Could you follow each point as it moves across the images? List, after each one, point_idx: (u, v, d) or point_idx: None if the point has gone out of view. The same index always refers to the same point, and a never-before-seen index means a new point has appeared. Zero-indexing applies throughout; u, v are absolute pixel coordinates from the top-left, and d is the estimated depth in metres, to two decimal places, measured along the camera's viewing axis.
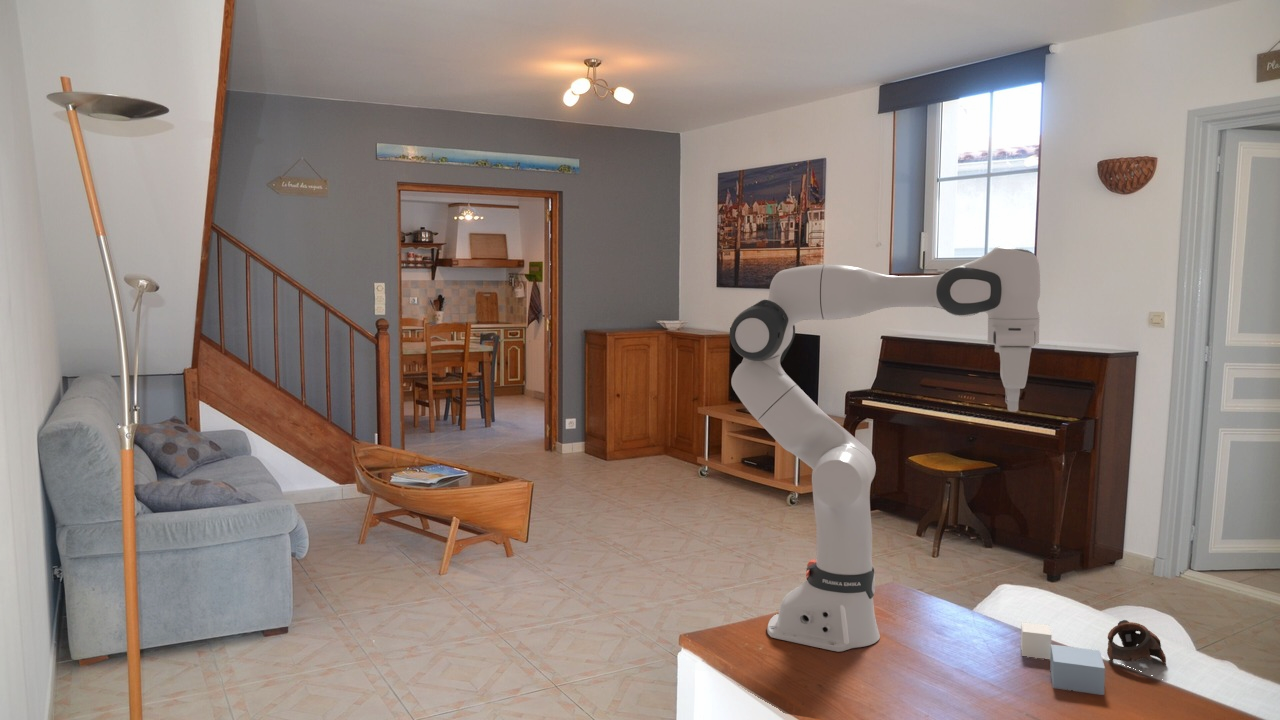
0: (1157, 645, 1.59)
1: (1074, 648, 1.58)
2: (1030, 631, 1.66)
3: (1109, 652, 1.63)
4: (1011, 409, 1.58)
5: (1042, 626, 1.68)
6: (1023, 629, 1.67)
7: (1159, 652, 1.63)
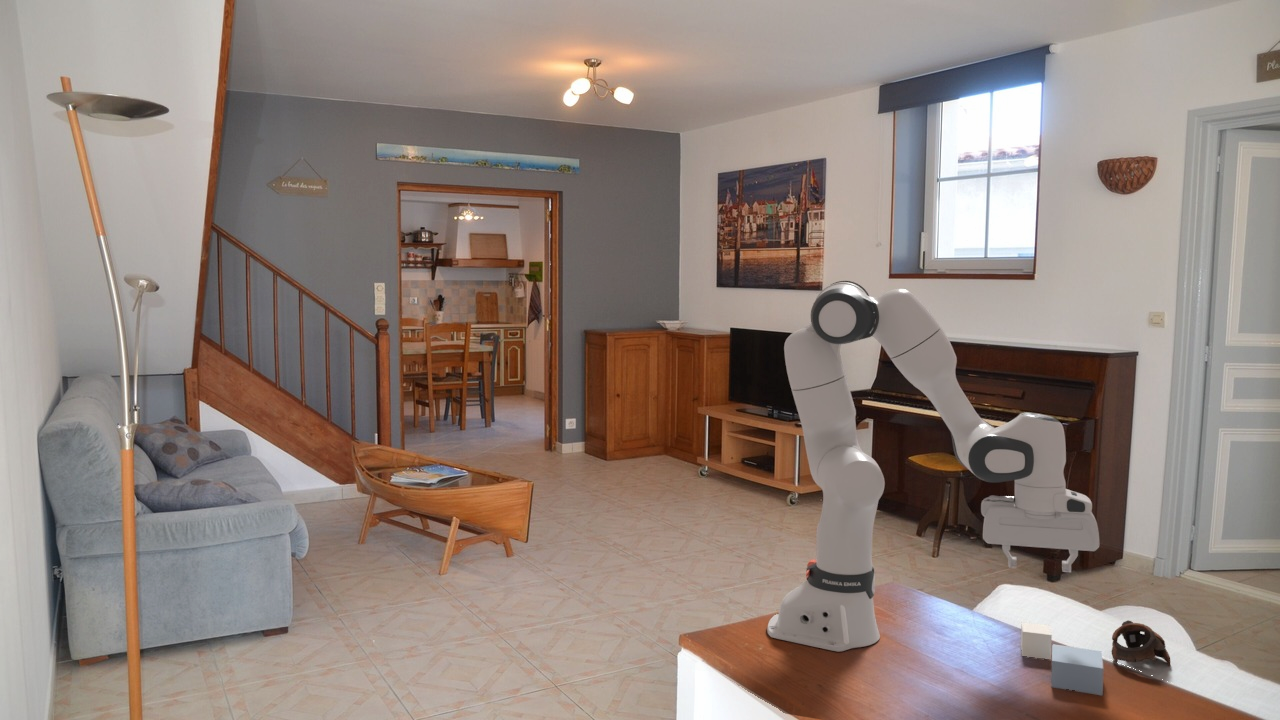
0: (1162, 646, 1.59)
1: (1075, 648, 1.58)
2: (1030, 631, 1.66)
3: (1113, 653, 1.63)
4: (1070, 570, 1.64)
5: (1042, 626, 1.68)
6: (1023, 629, 1.67)
7: (1163, 653, 1.63)
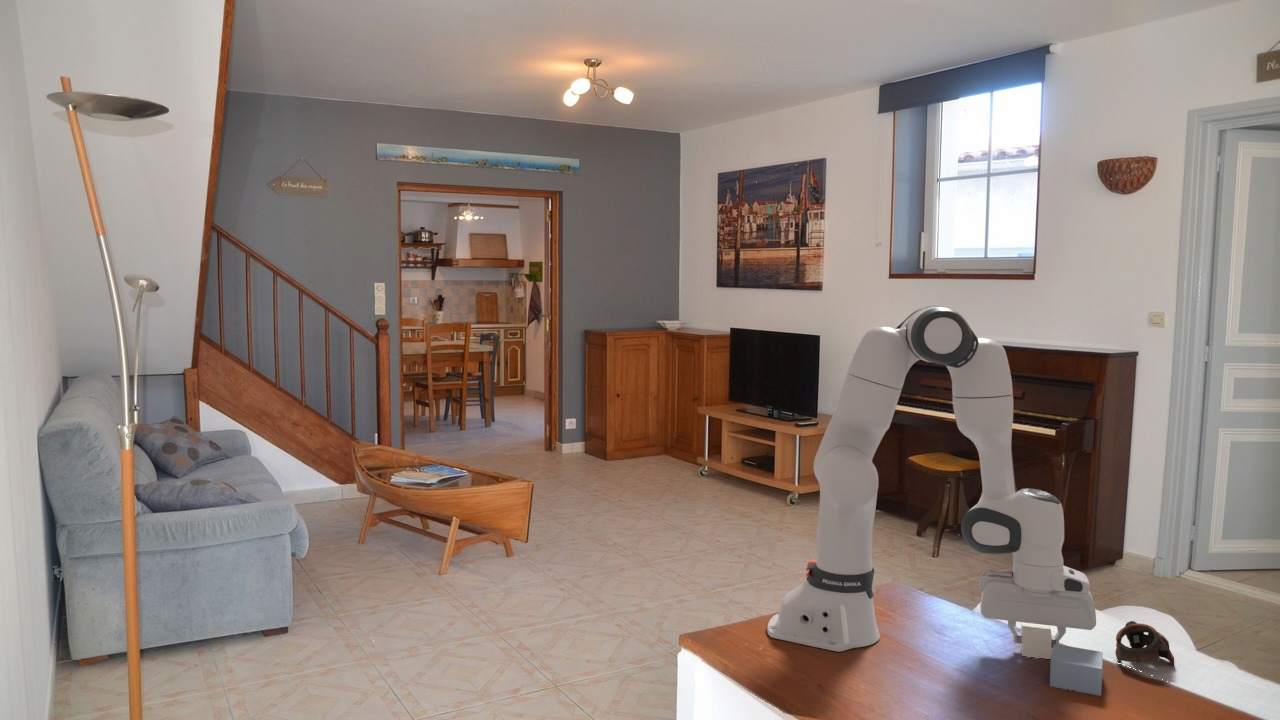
0: (1166, 646, 1.59)
1: (1077, 648, 1.58)
2: (1030, 630, 1.66)
3: (1117, 653, 1.63)
4: None
5: (1042, 625, 1.68)
6: (1023, 628, 1.67)
7: (1167, 653, 1.63)
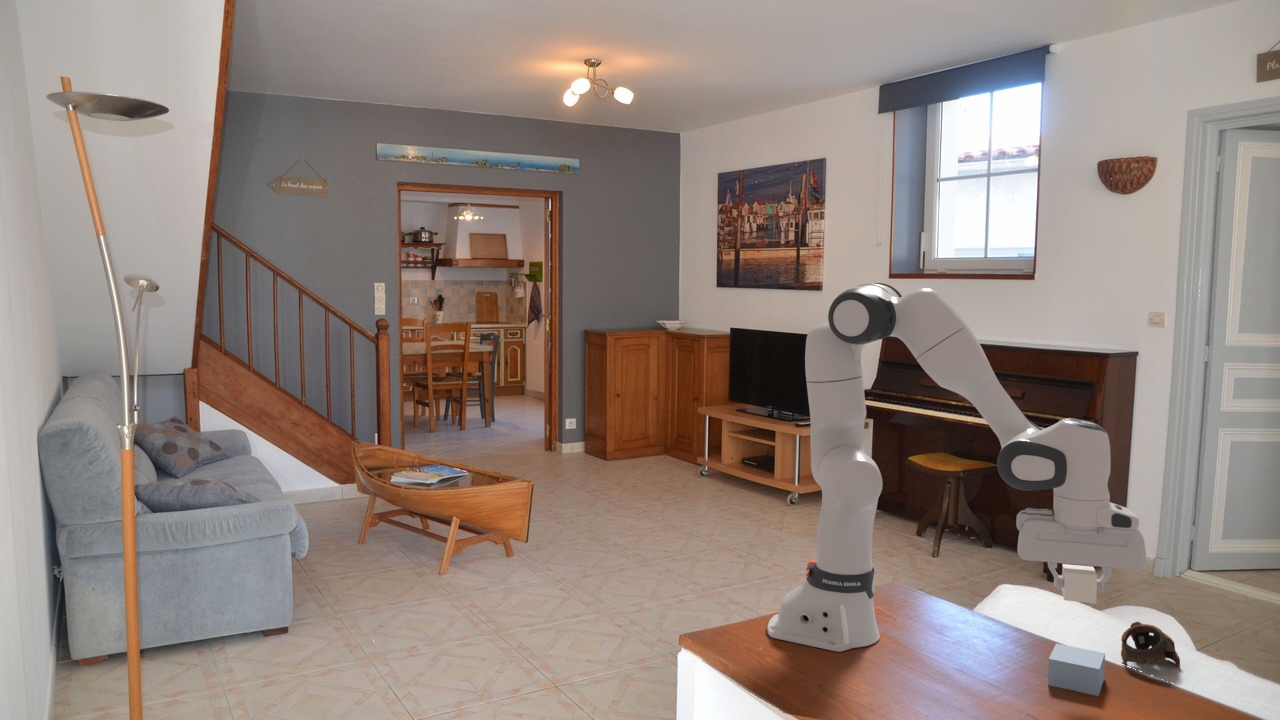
0: (1172, 647, 1.59)
1: (1078, 649, 1.58)
2: (1073, 571, 1.53)
3: (1123, 654, 1.62)
4: None
5: (1085, 567, 1.55)
6: (1065, 570, 1.54)
7: (1173, 654, 1.62)
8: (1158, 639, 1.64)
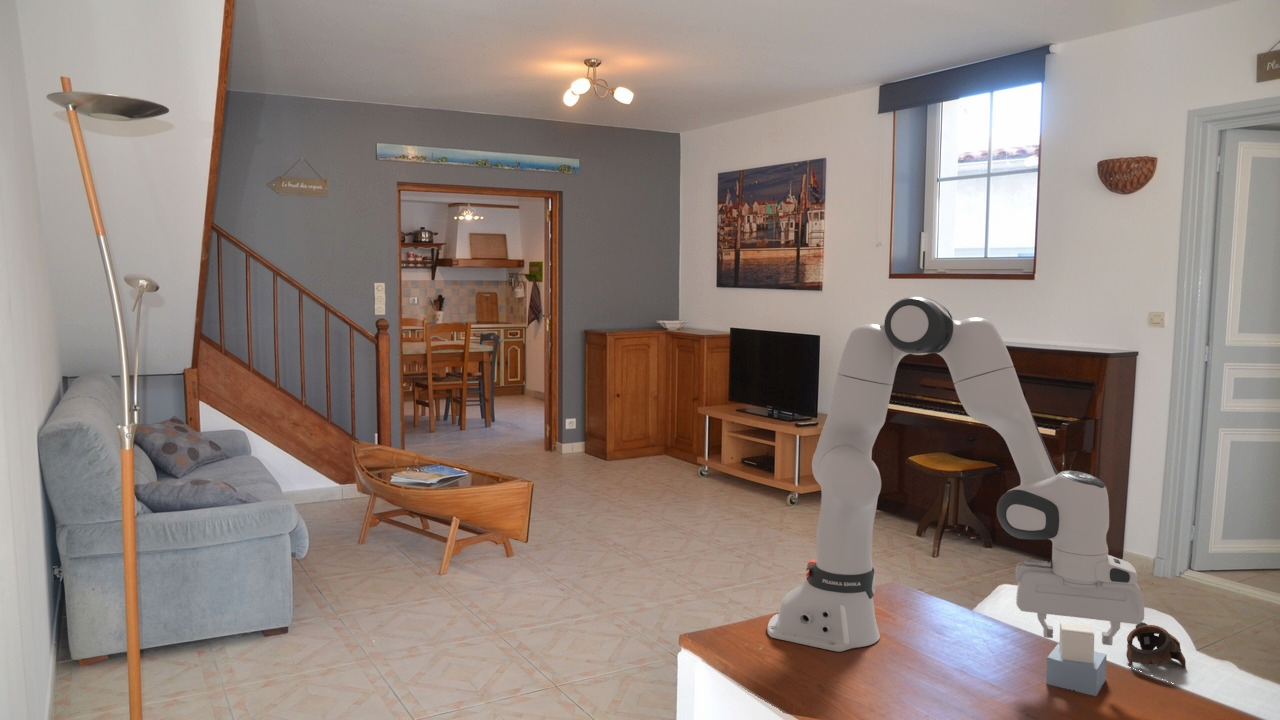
0: (1177, 648, 1.58)
1: None
2: (1071, 631, 1.54)
3: (1129, 655, 1.62)
4: (1111, 642, 1.53)
5: (1083, 626, 1.56)
6: (1063, 629, 1.54)
7: (1178, 655, 1.62)
8: (1163, 640, 1.64)
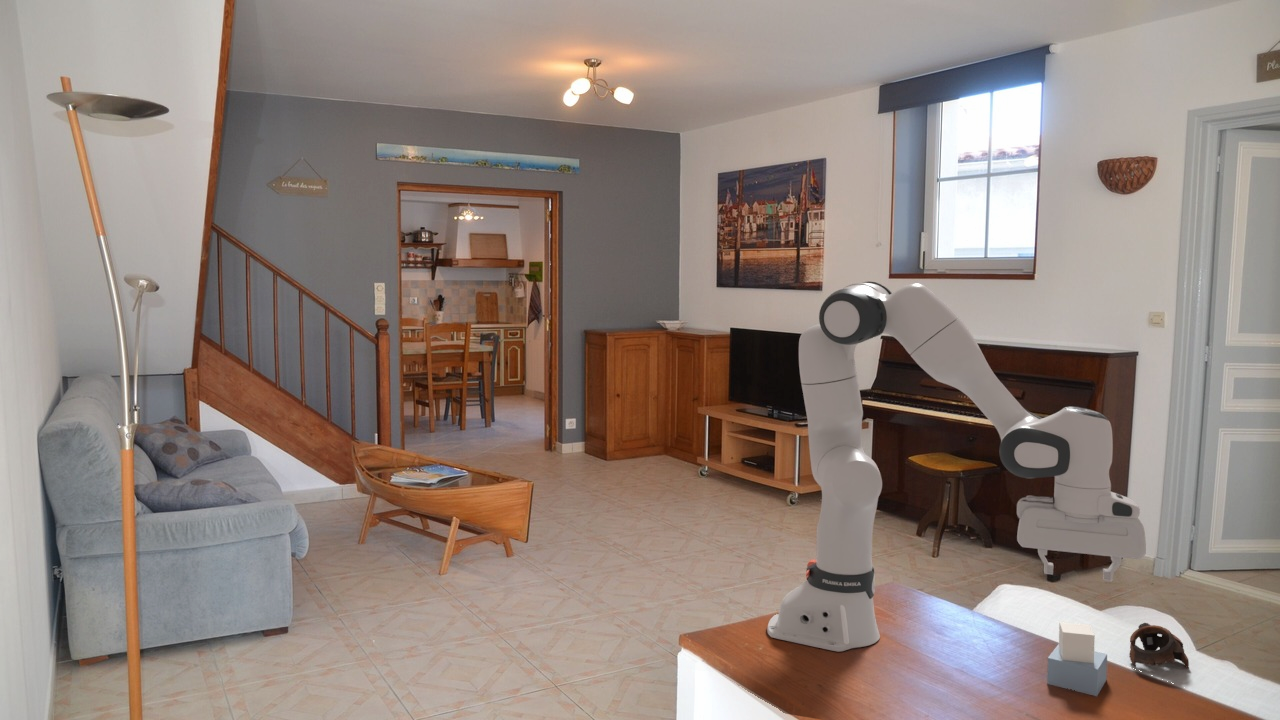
0: (1181, 648, 1.58)
1: None
2: (1071, 631, 1.53)
3: (1132, 656, 1.62)
4: (1112, 578, 1.52)
5: (1082, 626, 1.56)
6: (1063, 629, 1.54)
7: (1181, 655, 1.62)
8: (1166, 640, 1.64)
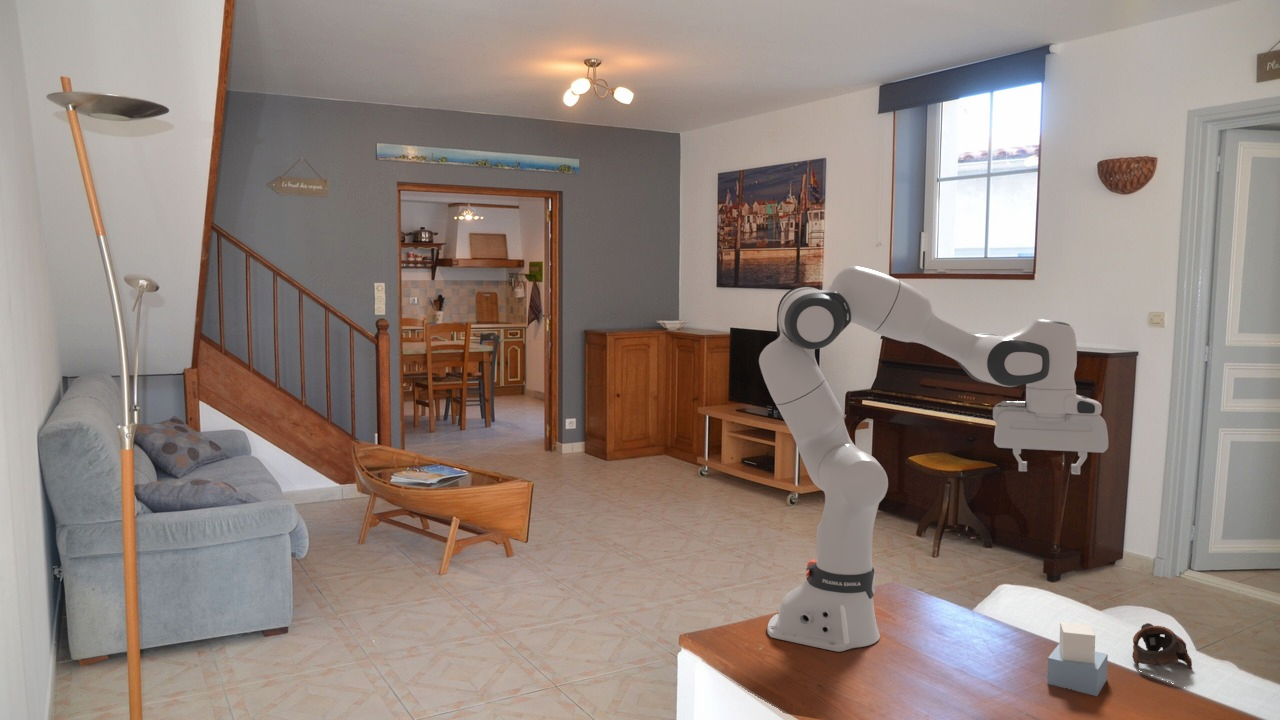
0: (1184, 649, 1.58)
1: None
2: (1071, 631, 1.53)
3: (1135, 656, 1.62)
4: (1079, 472, 1.69)
5: (1083, 626, 1.56)
6: (1064, 629, 1.54)
7: (1184, 655, 1.61)
8: (1169, 640, 1.64)
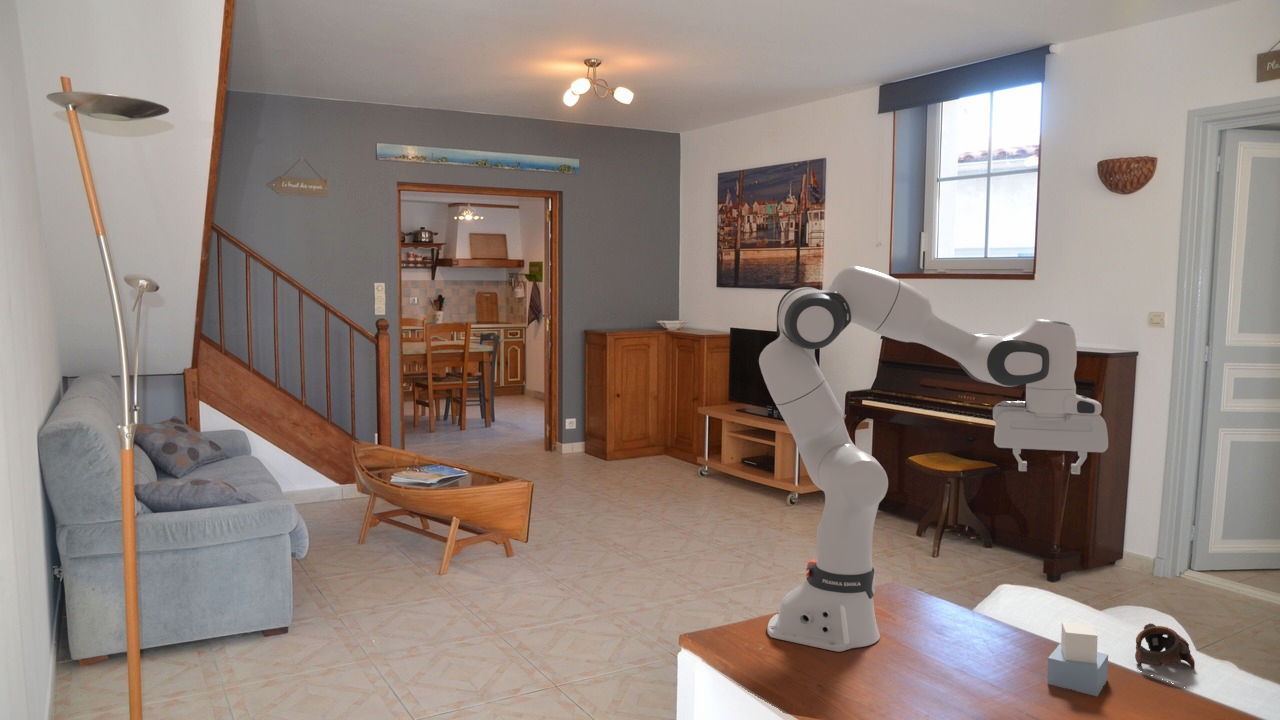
0: (1187, 649, 1.58)
1: None
2: (1074, 631, 1.53)
3: (1137, 656, 1.61)
4: (1079, 472, 1.69)
5: (1085, 626, 1.56)
6: (1066, 630, 1.54)
7: (1187, 656, 1.61)
8: (1172, 641, 1.63)
